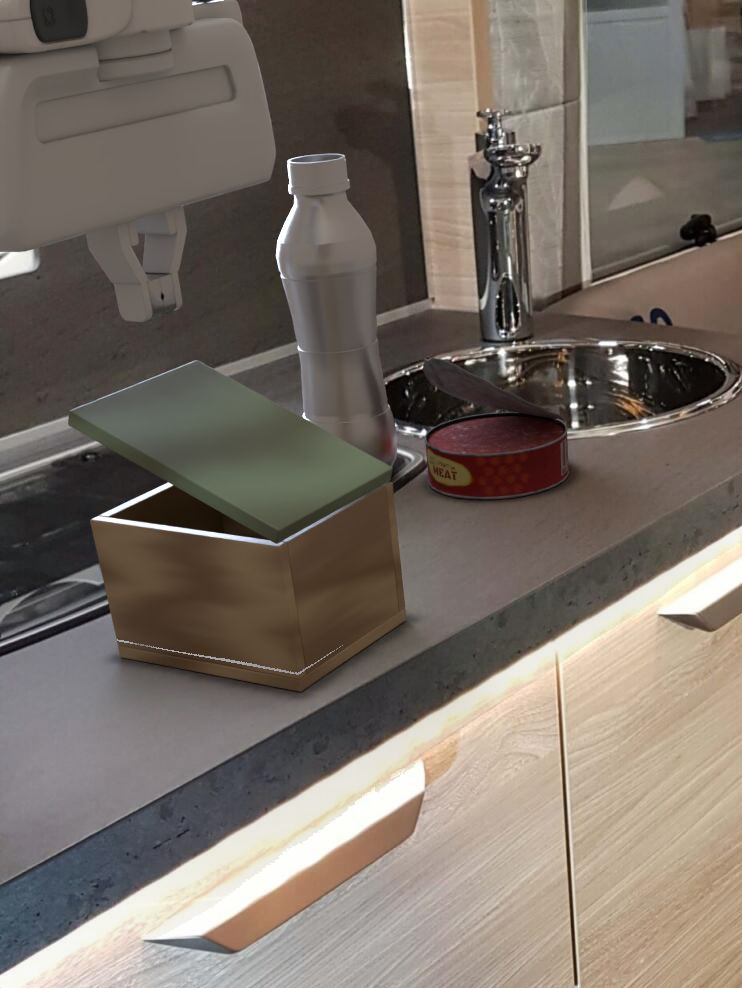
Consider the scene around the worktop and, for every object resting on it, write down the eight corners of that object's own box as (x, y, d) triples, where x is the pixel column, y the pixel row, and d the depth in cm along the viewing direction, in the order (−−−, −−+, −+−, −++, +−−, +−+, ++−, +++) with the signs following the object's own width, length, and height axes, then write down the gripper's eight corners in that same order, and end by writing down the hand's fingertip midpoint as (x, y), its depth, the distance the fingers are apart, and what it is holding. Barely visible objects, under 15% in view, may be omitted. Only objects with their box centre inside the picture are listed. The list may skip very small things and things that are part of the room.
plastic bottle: (417, 479, 108) (387, 155, 96) (329, 500, 106) (287, 170, 94) (377, 458, 113) (343, 146, 101) (292, 478, 110) (247, 160, 98)
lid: (67, 425, 78) (68, 410, 78) (195, 373, 85) (197, 359, 85) (276, 545, 76) (278, 530, 75) (390, 481, 83) (393, 467, 82)
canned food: (439, 534, 112) (413, 392, 111) (575, 506, 112) (550, 364, 110) (430, 506, 101) (400, 348, 100) (581, 476, 101) (554, 317, 99)
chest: (119, 657, 86) (89, 519, 81) (233, 591, 93) (211, 461, 88) (300, 692, 80) (279, 546, 76) (407, 619, 87) (393, 482, 83)
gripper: (182, -27, 79) (228, 269, 87) (-126, 13, 65) (-36, 361, 73) (282, -33, 76) (320, 273, 84) (-17, 7, 62) (63, 369, 70)
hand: (152, 315), depth 78 cm, fingers closed
